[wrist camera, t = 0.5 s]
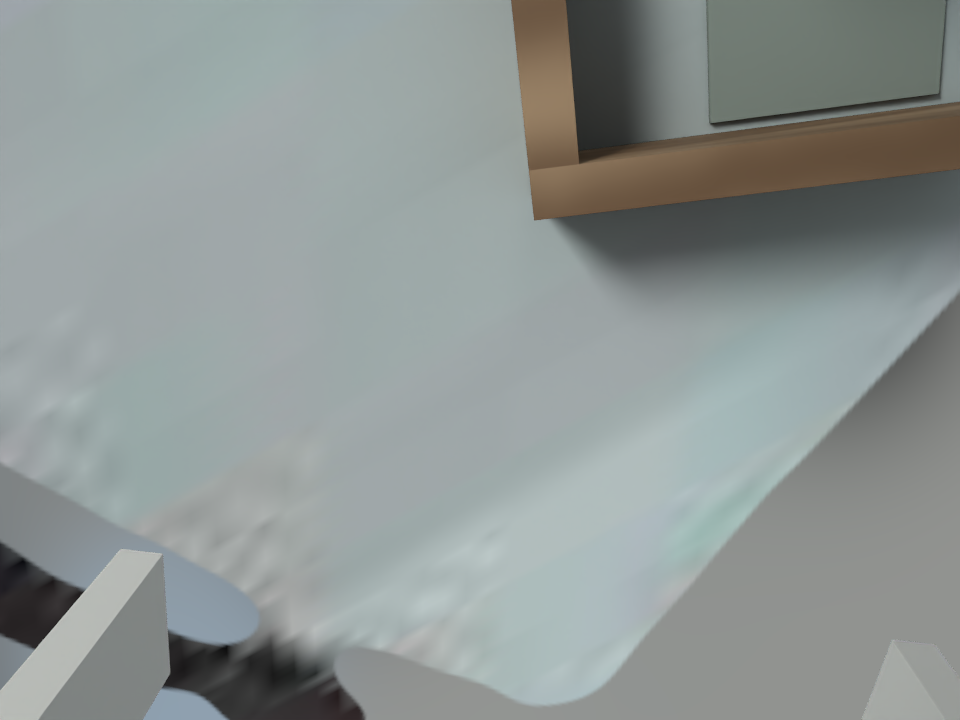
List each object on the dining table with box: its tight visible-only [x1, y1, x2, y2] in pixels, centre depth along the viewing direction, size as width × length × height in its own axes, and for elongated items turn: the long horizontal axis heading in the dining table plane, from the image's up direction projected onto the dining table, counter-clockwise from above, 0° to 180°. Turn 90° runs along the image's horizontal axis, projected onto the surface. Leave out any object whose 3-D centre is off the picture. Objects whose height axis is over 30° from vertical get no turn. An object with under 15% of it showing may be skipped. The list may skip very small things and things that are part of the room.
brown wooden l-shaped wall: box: [511, 0, 960, 220], centre depth 30 cm, size 14×20×6 cm
